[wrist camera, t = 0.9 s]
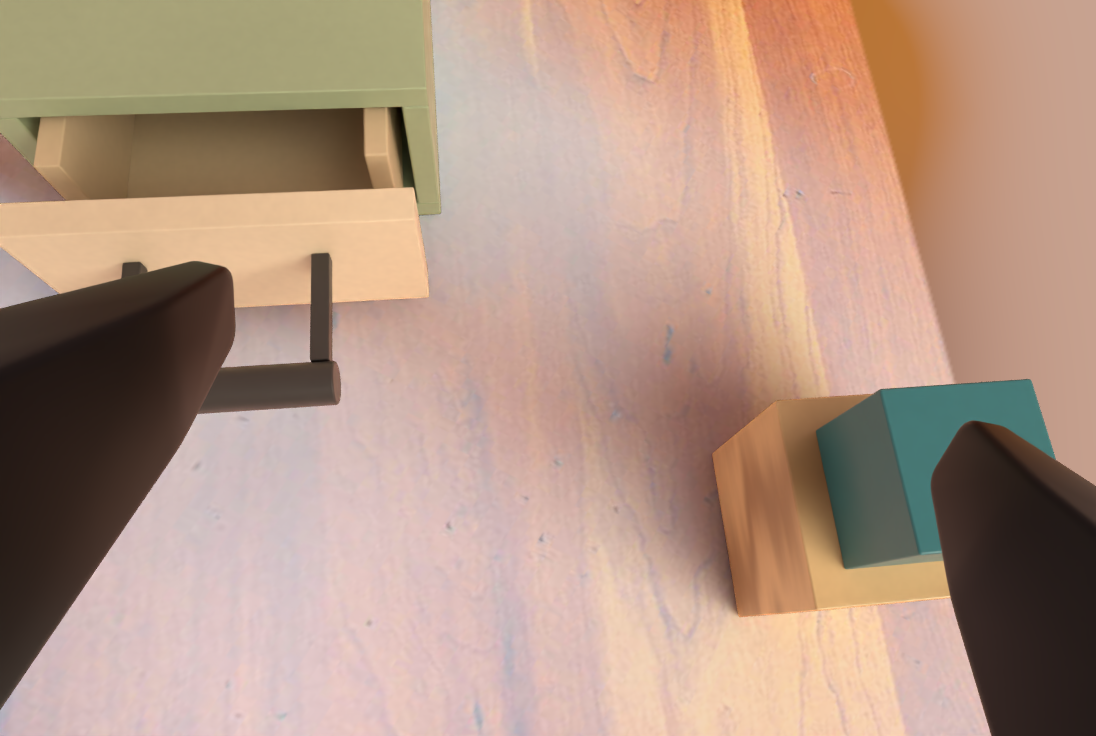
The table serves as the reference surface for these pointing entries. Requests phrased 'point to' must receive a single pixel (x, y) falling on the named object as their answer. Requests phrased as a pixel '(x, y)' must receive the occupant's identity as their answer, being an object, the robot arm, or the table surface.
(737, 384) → the table surface
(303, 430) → the table surface
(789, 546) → the riser
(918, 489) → the block
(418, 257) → the drawer
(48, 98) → the cabinet
